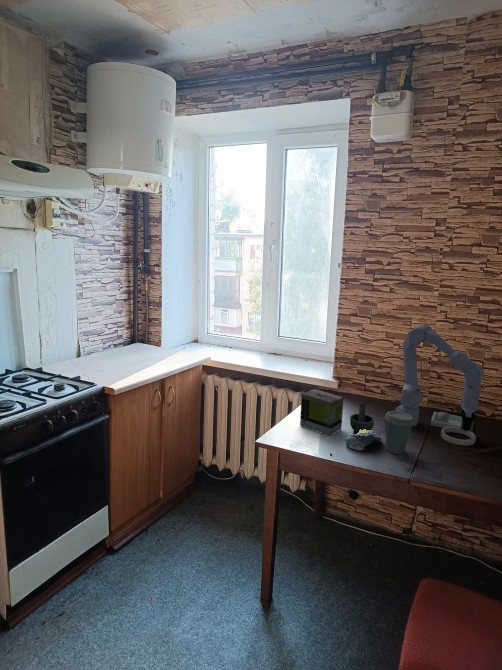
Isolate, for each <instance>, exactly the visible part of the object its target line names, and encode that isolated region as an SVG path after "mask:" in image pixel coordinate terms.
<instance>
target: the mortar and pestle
mask: <svg viewBox="0 0 502 670" xmlns="http://www.w3.org/2000/svg"><path fill="white" fill-rule="evenodd" d="M358 405H359V407H358V408H359V410H358V413H354V414H351V415H350V416H349V424H350V427H351V429H352V430H353V434H352V435H354V434H357V433H358V432H359V430H360V429H361V430H363V429H366V430H370V431H372V429H373V428H374V426H375V425H374V424H375V418H374V417H372V416H371V415H370V414H366V405H367V404H366V402H359V404H358Z"/></svg>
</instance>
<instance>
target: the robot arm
mask: <svg viewBox="0 0 502 670" xmlns="http://www.w3.org/2000/svg"><path fill="white" fill-rule="evenodd" d="M422 343H423V344H427V345H433V346H435V347H436V348H438V350H440V351H441V352H442V353H444V355H446V356H447V357H448V358H449V363H450V364H452V366H454V367H455V368H456V369H458V371H459V372H461V373H462V374H463V377H464V380H465V381H464V386H463V390H462V391H463V393H462V400H461V404H460V409H461V411H460V417H462V421H463V430H468V431H469V430H470V427H471V425H472V422H473V421H474V422H475V419H476V418H477V415H476V413H477V412H478V411H481V410H482V407H481V406H479V400H480V394H481V393H480V392H481V389H482V388H481V387H482V385H481V383H482V379H483V377H484V375H485V370H484V368H483V367H482V365H480V364H478V363H477V362H475V361H472V360H471V359H470V358H469V357H468V356H467V354H466V352H462V351H459V350H458V351H456V350H455V349H454V348H453V347H452V346H451V345H450V344H449V343H448V342H447V341H446V340H445V339H444V338H443V337H441V335H440V334H438V332H437V331H436V330H435V328H432V326H430V325H428V324H422V325H420V326H417V327H412V329H411V330H409V331H408V332H407V336H406V337H405V339H404V340H403V342H402V355H403V357H402V358H403V377H404V378H403V379H404V384H403V387H402V389H401V390H402V393H401V396H400V398H399V399H400V403H401V404H400V405H399V406H396V408H395V410H394V411H399V412H404V413H407V414H409V415H411V416H412V417H413V419H414V424H413V425H412V427H416V426H418V423H419V415H420V414H419V413H420V407H421V405H420V402H421V401H422V400H423V397H424V395H423V392H422V390H421V386H420V384H419V381H418V358H417V356H418V355H417V348H418V346H419V345H420V344H422Z"/></svg>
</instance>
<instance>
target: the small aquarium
mask: <svg viewBox="0 0 502 670" xmlns="http://www.w3.org/2000/svg"><path fill="white" fill-rule="evenodd" d="M300 398H301V399H300V400H301V401H300V421H299V422H300V423H299V426H300V425H302V426H301V427H303V426H305V427H308V428H310V429H309V430H311V429H313V430H312V431H314V430H315V431H314V432H317V431H318V432H317V433H319V432H321V433H320V434H322V433H323V434H322V435H325V434H326V435H325V436H327V435H328V436H327V437H331V436H333V435H334V434H336V433H337V431H338V430H339V431H341V430H342V423H343V412H344V411H343V409H344V396H341V395H337V394H333V393H330V392H327V391H324V390H320V389H317V388H313V389H311V390H308V391H306V392H304V393H301V397H300ZM305 427H304V428H305ZM308 428H307V429H308ZM340 429H341V430H340ZM339 431H338V432H339ZM335 432H336V433H335ZM333 433H334V434H333ZM332 434H333V435H332ZM330 435H331V436H330Z"/></svg>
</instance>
